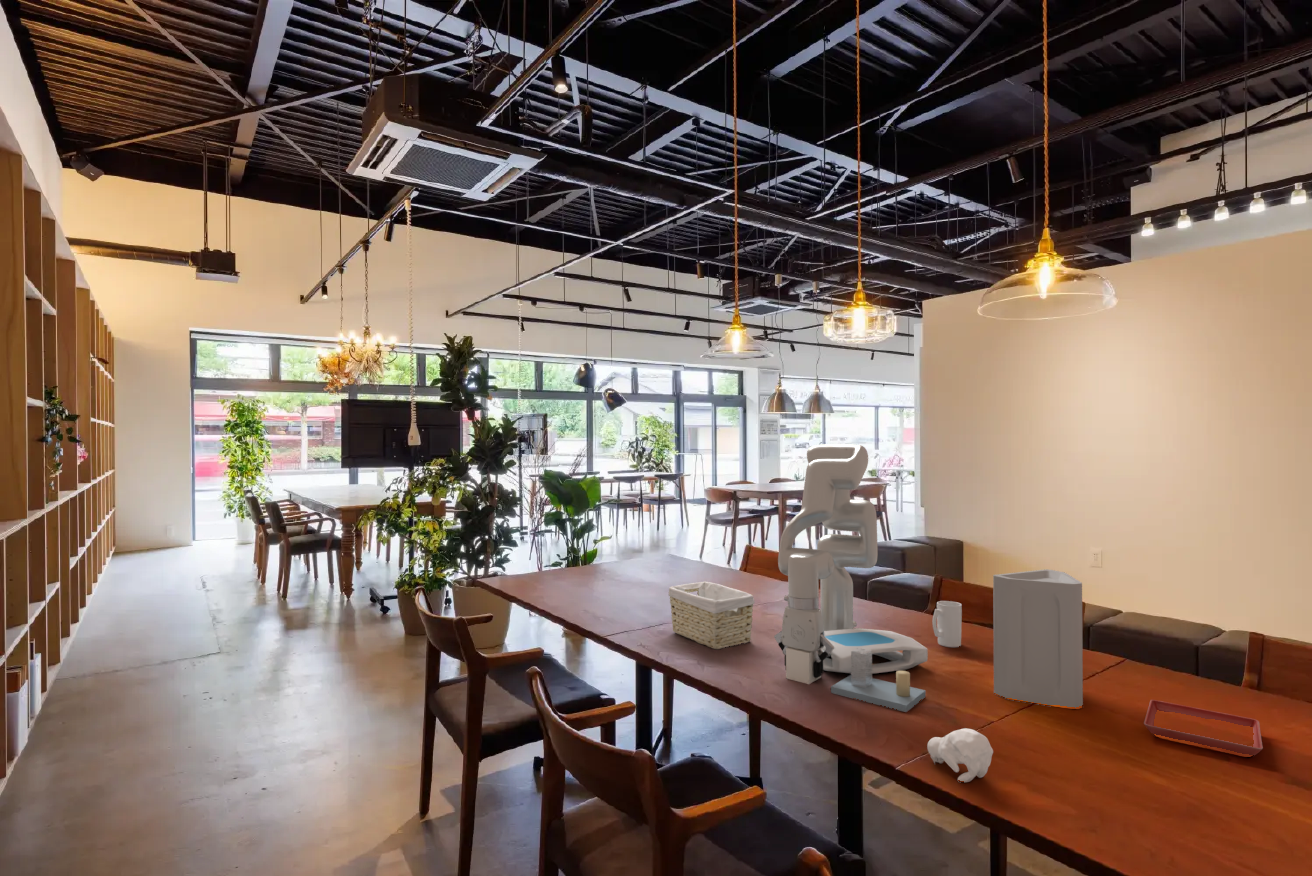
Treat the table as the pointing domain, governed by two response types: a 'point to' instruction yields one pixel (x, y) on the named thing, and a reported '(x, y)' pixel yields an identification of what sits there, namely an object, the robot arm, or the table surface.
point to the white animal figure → (962, 752)
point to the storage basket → (711, 614)
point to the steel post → (861, 668)
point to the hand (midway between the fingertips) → (803, 672)
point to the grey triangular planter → (1038, 637)
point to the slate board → (883, 692)
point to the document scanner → (873, 649)
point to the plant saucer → (1206, 714)
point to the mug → (948, 623)
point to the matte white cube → (800, 665)
